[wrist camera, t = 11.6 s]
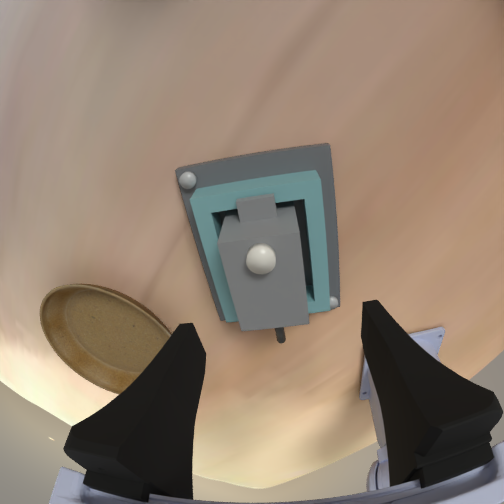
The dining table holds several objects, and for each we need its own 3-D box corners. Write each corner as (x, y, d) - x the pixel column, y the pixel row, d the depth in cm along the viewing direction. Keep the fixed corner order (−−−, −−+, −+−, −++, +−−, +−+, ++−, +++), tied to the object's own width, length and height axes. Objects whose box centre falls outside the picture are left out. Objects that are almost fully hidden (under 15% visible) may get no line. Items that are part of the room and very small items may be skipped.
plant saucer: (47, 335, 28) (37, 351, 26) (62, 236, 22) (45, 253, 19) (161, 395, 32) (156, 413, 30) (219, 321, 25) (215, 345, 23)
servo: (307, 317, 23) (313, 369, 19) (255, 323, 24) (252, 375, 20) (290, 179, 18) (297, 214, 14) (223, 189, 18) (209, 227, 14)
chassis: (338, 301, 23) (344, 323, 21) (221, 315, 24) (217, 337, 22) (328, 143, 17) (336, 151, 15) (177, 167, 18) (166, 179, 16)
